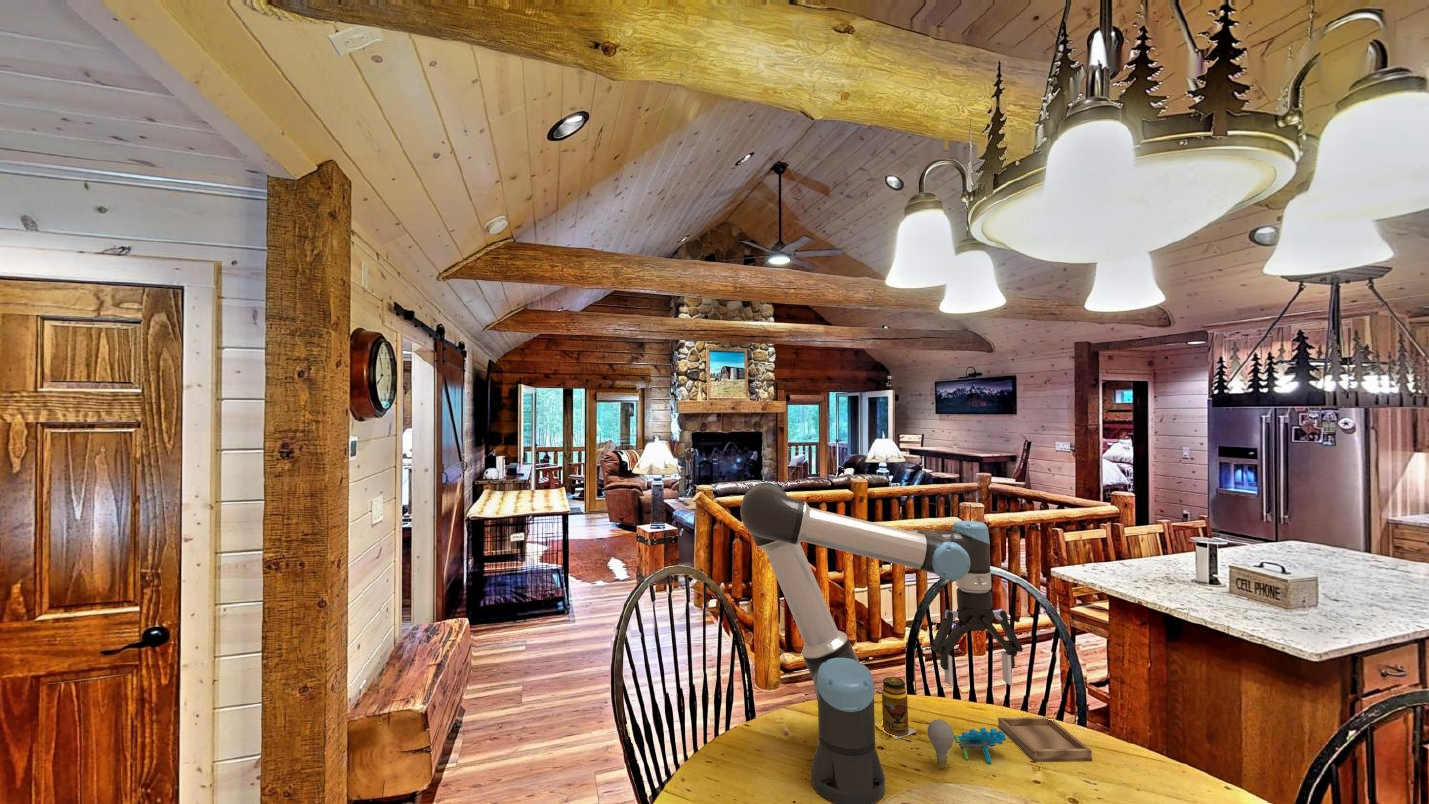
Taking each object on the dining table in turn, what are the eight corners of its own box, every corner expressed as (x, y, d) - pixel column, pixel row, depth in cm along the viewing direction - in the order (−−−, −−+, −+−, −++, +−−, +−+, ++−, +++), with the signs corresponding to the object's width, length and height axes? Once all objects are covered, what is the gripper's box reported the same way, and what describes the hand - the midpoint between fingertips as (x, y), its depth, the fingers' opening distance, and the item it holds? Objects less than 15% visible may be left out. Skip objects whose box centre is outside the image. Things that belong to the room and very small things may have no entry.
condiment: (895, 740, 131) (894, 688, 132) (870, 724, 139) (868, 675, 140) (917, 732, 135) (915, 682, 136) (891, 717, 142) (889, 669, 143)
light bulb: (939, 777, 117) (937, 728, 117) (923, 763, 122) (921, 716, 123) (961, 773, 118) (959, 725, 119) (944, 759, 123) (942, 713, 124)
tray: (1033, 761, 122) (1033, 751, 122) (998, 726, 137) (998, 717, 137) (1092, 760, 122) (1091, 750, 122) (1050, 726, 137) (1050, 717, 137)
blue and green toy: (1003, 740, 128) (1005, 723, 122) (1012, 769, 123) (1015, 754, 117) (953, 741, 130) (953, 725, 124) (960, 770, 126) (960, 755, 120)
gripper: (927, 594, 124) (931, 691, 122) (1036, 592, 124) (1041, 689, 123) (914, 585, 131) (918, 676, 130) (1017, 584, 132) (1022, 675, 130)
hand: (978, 683), depth 126 cm, fingers open, 13 cm apart
